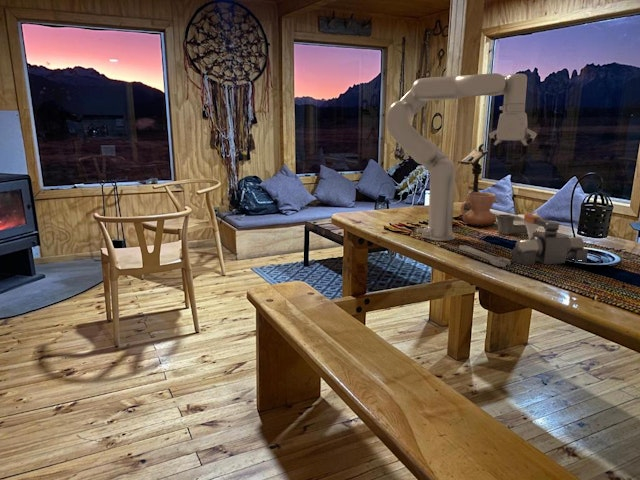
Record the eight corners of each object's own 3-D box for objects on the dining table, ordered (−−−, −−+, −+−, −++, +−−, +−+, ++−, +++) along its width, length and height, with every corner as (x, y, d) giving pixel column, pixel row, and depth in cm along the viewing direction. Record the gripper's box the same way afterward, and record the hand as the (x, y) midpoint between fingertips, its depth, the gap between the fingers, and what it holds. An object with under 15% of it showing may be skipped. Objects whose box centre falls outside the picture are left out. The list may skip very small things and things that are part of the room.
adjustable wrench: (457, 249, 182) (457, 244, 182) (472, 247, 184) (472, 243, 183) (498, 268, 158) (498, 263, 158) (515, 266, 160) (515, 261, 160)
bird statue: (464, 216, 237) (469, 144, 228) (449, 211, 249) (453, 142, 240) (492, 214, 242) (498, 143, 233) (476, 209, 254) (481, 141, 245)
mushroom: (540, 238, 193) (543, 209, 190) (547, 245, 183) (550, 214, 180) (513, 237, 195) (516, 208, 192) (518, 244, 185) (521, 214, 182)
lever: (561, 230, 161) (562, 223, 160) (549, 231, 160) (549, 224, 159) (532, 220, 177) (533, 214, 176) (521, 220, 176) (522, 214, 175)
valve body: (524, 265, 160) (527, 234, 157) (511, 258, 167) (514, 228, 165) (587, 261, 163) (591, 230, 160) (572, 255, 171) (575, 225, 168)
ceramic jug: (488, 220, 227) (491, 190, 224) (504, 227, 213) (507, 195, 210) (452, 222, 225) (454, 192, 221) (465, 229, 211) (468, 197, 207)
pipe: (528, 236, 197) (530, 217, 195) (495, 235, 200) (497, 216, 198) (525, 233, 203) (527, 214, 201) (493, 231, 206) (495, 213, 204)
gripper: (487, 109, 181) (484, 156, 185) (535, 108, 170) (531, 157, 174) (494, 109, 186) (491, 154, 191) (541, 108, 176) (537, 155, 180)
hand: (510, 155), depth 182 cm, fingers open, 9 cm apart
